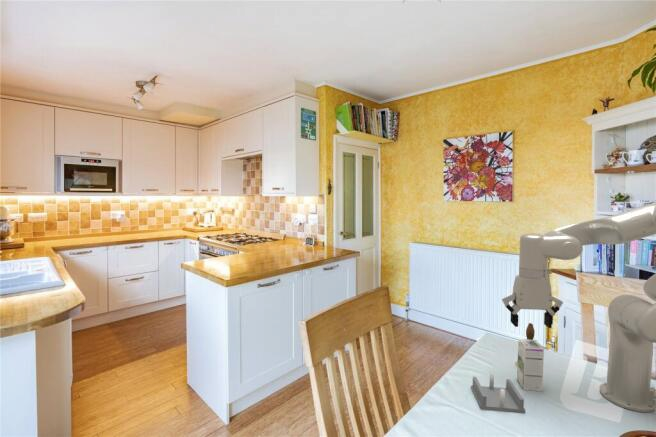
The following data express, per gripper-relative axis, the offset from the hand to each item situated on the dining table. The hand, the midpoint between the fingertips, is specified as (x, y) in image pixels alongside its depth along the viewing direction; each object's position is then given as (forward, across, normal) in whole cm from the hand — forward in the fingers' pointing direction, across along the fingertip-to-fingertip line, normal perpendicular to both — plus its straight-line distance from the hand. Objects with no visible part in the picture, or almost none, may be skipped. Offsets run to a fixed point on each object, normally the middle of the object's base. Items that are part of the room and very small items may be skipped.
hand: (531, 325), depth 103 cm
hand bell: (+20, -5, -12) cm, 24 cm away
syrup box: (+20, 0, 0) cm, 20 cm away
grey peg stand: (+20, +13, +9) cm, 25 cm away
